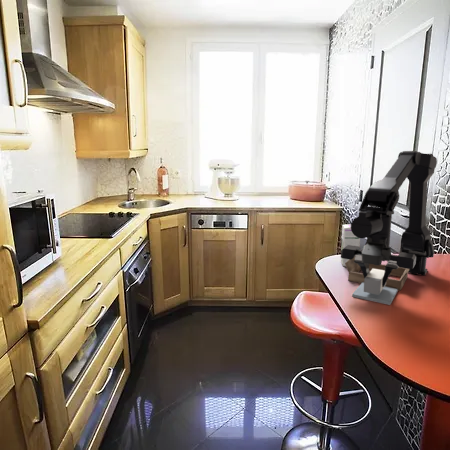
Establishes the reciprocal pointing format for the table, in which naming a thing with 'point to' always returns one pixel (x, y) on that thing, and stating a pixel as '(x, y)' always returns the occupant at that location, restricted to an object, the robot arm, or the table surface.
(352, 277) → the carton
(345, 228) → the syrup box
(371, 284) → the cream box
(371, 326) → the table surface
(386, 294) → the mat
